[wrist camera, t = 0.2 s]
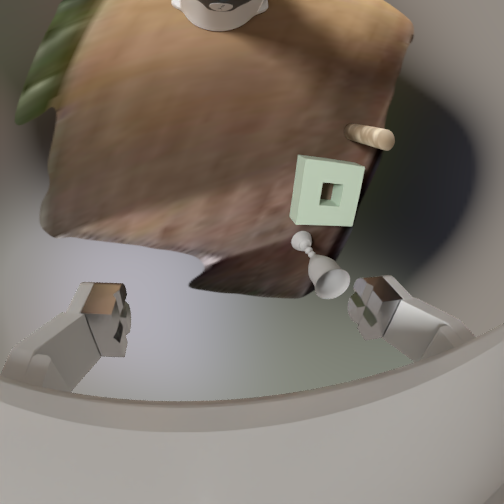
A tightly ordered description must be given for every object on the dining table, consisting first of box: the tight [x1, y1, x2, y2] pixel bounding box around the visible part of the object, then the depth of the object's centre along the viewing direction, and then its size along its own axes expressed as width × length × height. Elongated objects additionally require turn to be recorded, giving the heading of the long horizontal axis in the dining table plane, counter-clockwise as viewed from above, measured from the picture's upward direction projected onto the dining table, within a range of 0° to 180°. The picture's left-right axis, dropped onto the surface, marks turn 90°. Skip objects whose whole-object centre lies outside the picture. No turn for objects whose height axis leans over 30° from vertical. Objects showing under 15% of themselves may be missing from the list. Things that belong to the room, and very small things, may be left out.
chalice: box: [291, 231, 350, 299], centre depth 57 cm, size 7×7×18 cm
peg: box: [344, 123, 395, 151], centre depth 48 cm, size 4×4×13 cm
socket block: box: [289, 155, 365, 226], centre depth 57 cm, size 14×14×4 cm
